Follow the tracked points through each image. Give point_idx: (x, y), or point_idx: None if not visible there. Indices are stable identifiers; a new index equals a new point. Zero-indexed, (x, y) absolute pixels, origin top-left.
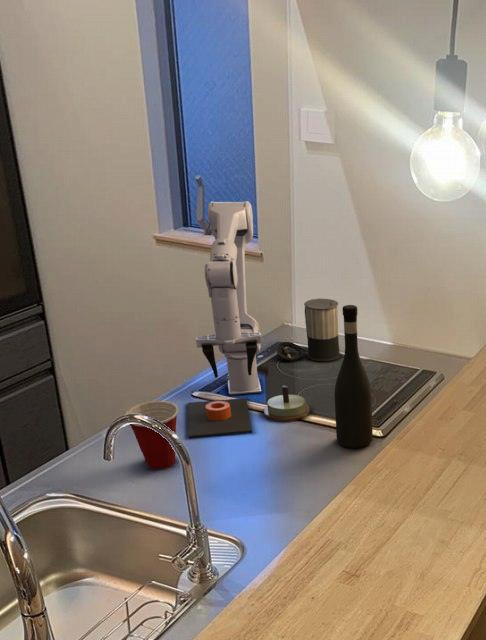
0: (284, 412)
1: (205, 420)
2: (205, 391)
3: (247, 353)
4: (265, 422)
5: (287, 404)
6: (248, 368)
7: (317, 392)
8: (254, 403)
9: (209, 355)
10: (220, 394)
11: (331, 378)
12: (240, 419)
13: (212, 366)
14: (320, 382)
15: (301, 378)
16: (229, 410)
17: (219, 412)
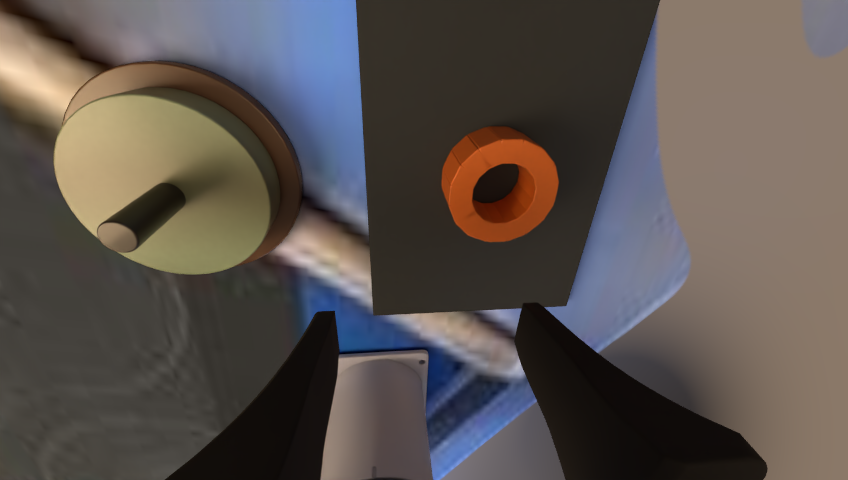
0: (168, 93)
1: (550, 142)
2: (492, 378)
3: (284, 451)
4: (289, 82)
5: (152, 158)
6: (321, 340)
7: (108, 339)
8: (345, 283)
9: (675, 424)
10: (453, 357)
11: (89, 424)
12: (405, 118)
13: (587, 350)
14: (122, 403)
15: (199, 429)
16: (451, 168)
17: (503, 135)
